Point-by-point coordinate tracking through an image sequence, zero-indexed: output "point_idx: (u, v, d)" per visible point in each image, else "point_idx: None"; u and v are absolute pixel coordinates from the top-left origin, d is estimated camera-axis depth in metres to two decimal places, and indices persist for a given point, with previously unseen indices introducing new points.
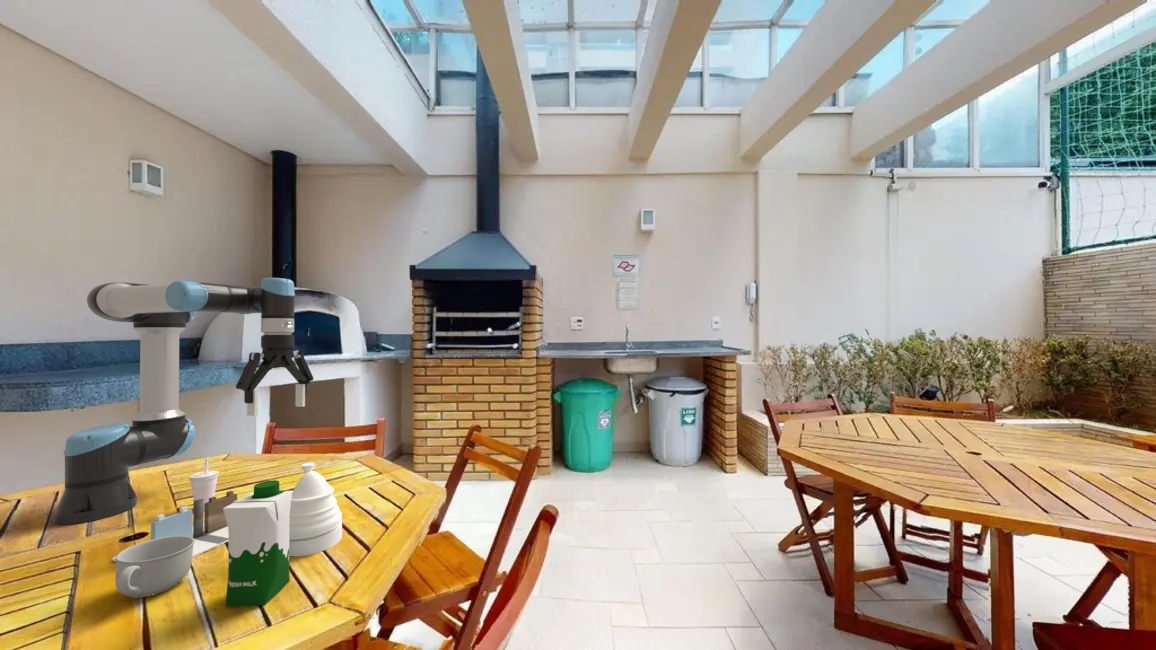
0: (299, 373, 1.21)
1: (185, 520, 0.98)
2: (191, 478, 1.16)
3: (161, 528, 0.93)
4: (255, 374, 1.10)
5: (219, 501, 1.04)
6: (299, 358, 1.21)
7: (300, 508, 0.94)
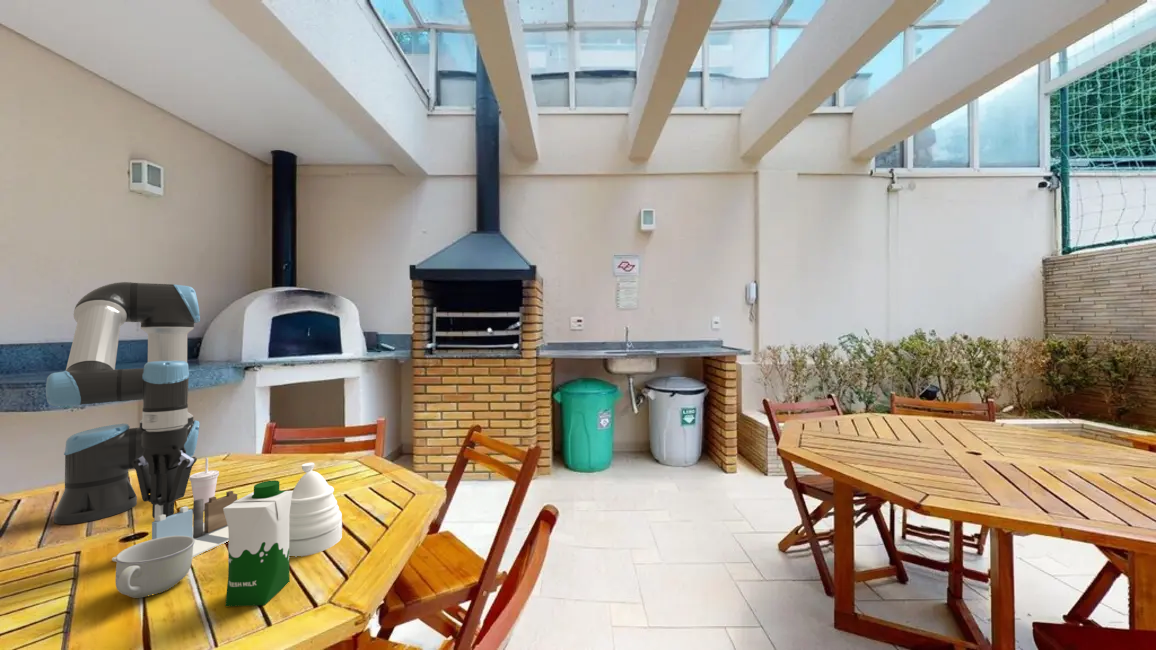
0: (164, 486, 0.95)
1: (186, 520, 0.98)
2: (191, 478, 1.16)
3: (162, 528, 0.93)
4: None
5: (219, 501, 1.04)
6: None
7: (300, 508, 0.94)
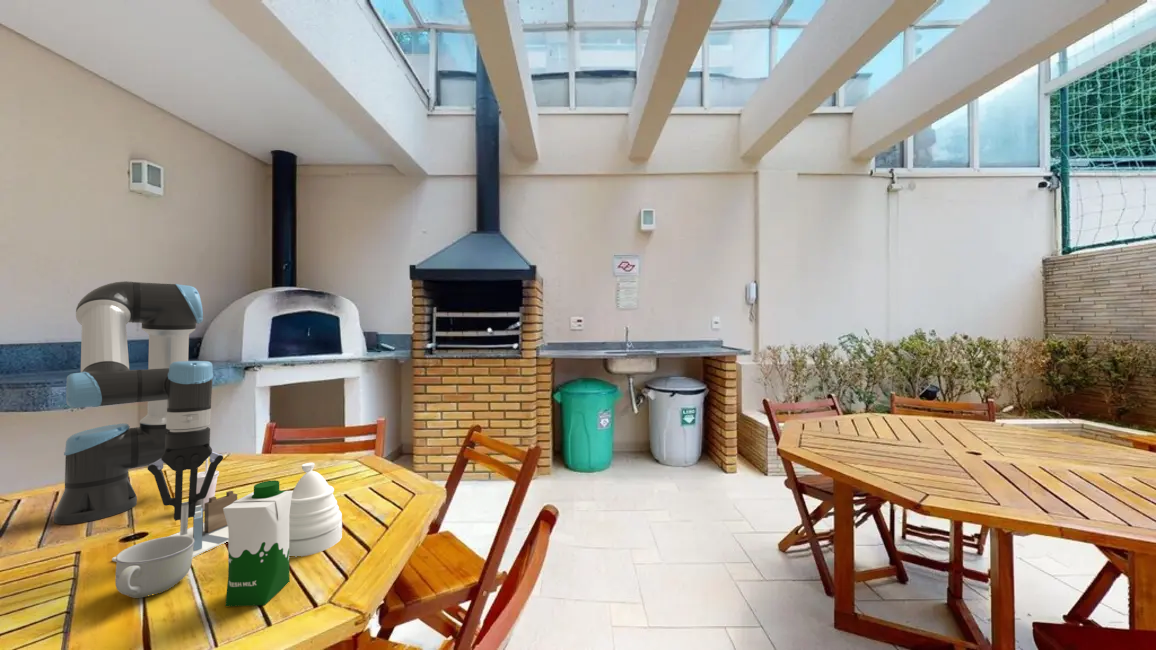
0: (193, 486, 0.95)
1: None
2: None
3: None
4: None
5: (219, 501, 1.04)
6: (211, 463, 0.98)
7: (300, 508, 0.94)
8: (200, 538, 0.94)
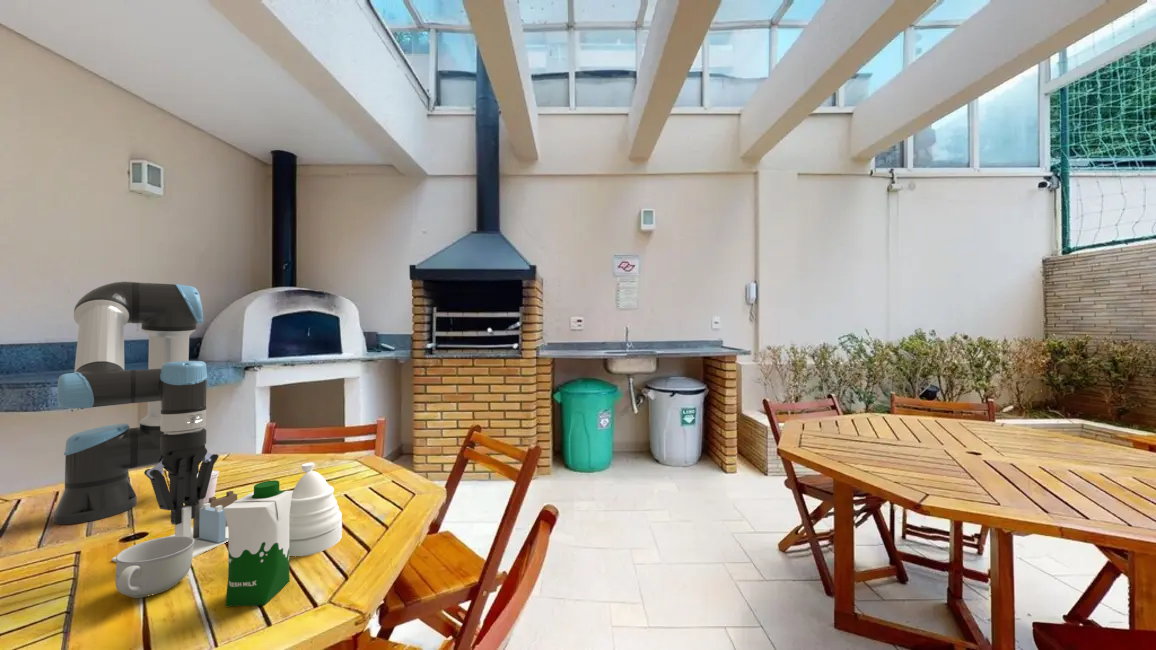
0: (193, 487, 0.94)
1: None
2: None
3: None
4: (171, 489, 0.92)
5: (219, 501, 1.04)
6: (207, 463, 0.97)
7: (300, 508, 0.94)
8: (224, 530, 0.98)
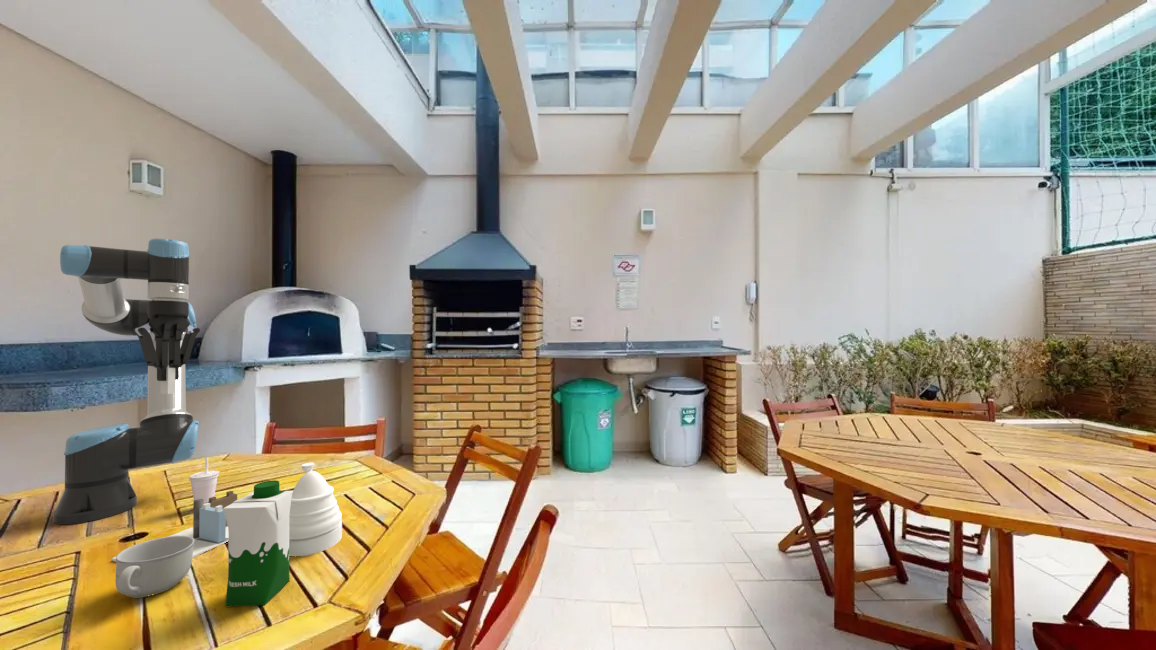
0: (177, 351, 1.07)
1: None
2: (191, 478, 1.16)
3: None
4: (157, 350, 1.04)
5: (219, 501, 1.04)
6: (190, 334, 1.10)
7: (300, 508, 0.94)
8: (224, 530, 0.98)
